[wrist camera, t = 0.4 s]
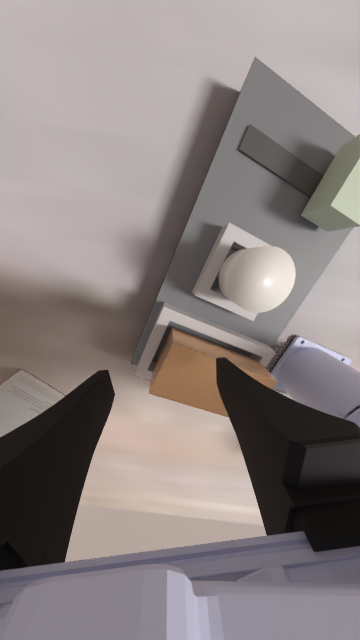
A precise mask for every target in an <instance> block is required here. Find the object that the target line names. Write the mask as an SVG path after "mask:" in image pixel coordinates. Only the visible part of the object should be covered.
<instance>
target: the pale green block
mask: <svg viewBox="0 0 360 640" xmlns="http://www.w3.org/2000/svg"><path fill="white" fill-rule="evenodd" d="M301 216H303V217H304V218H306V219H307V220H309V221H311V222H312V223H314V224H315V225H317V226H319V227H320V228H322V229H323V230H325V231H327V232H329V231H334V230H340V229H346V228H352V227H357V226H360V135H358V136H357V137H355V138H354V139H352V140H351V141H349V142H348V143H346V144H344V145H343V146H341V147H340V149H339V150H338V152H337V154H336V156H335V157H334V159H333V161H332V162H331V164H330V166H329V168H328V169H327V171H326V173H325V175H324V176H323V178H322V180H321V181H320V183H319V185H318V187H317V188H316V190H315V192H314V193H313V195H312V197H311V199H310V200H309V202H308V204H307V205H306V207H305V209H304V211H303V212H302V214H301Z"/></svg>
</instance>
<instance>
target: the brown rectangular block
mask: <svg viewBox="0 0 360 640" xmlns="http://www.w3.org/2000/svg"><path fill="white" fill-rule="evenodd" d="M221 357H226V358H227V359H228V360H229V361H231V362H232V363H233V364H234V365H236V366H237V367H238V368H240V369H241V370H242V371H244V372H245V373H246V374H248V375H249V376H251V377H252V378H254V379H255V380H257V381H258V382H260V383H262V384H263V385H265V386H267V387H268V388H270V389H272V388H273V387H274V385H275V384H276V383H277V380H276V379H275V378H274V377H273V376H272V375H271V373H270V372H269V371H268V370H267V369H266V368H265V367H264V366H263V365H262V363H261V362H260V361H258V360H255V359H252V358H250V357H247V356H245V355H242V354H239V353H237V352H234V351H232V350H229V349H227V348H224V347H221V346H219V345H216V344H214V343H211V342H208V341H206V340H203V339H201V338H198V337H196V336H193V335H190V334H188V333H185V332H183V331H180V330H177V329H175V328H172V329H171V331H170V333H169V336H168V338H167V340H166V342H165V344H164V346H163V349H162V351H161V353H160V355H159V357H158V360H157V362H156V364H155V366H154V368H153V370H152V376H151V383H150V390H149V394H152V395H155V396H159V397H162V398H166V399H169V400H172V401H176V402H179V403H182V404H186V405H189V406H192V407H196V408H199V409H203V410H206V411H209V412H213V413H216V414H219V415H223V416H226V417H229V416H228V414H227V411H226V409H225V407H224V404H223V402H222V399H221V397H220V394H219V390H218V387H217V383H216V358H221Z"/></svg>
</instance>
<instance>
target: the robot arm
mask: <svg viewBox="0 0 360 640" xmlns="http://www.w3.org/2000/svg"><path fill="white" fill-rule="evenodd" d="M301 341H302V342H301ZM350 363H351V359H349V358H347V357H345V356H343V355H341V354H338V353H336V352H334V351H332V350H329V349H327V348H325V347H323V346H320V345H318V344H316V343H314V342H311V341H309V340H307V339H305V338H302V337H300V336H297V337H295V338H294V340H293V341H292V343H291V344H290V345H289V347H288V348H287V350H286V351H285V353H284V354H283V355H282V357H281V358H280V360H279V361H278V362H277V364H276V365H275V367H274V368H273V369H272V371H271V372H270V373H271V375H272V376H273V377H274V378H275V379H276V380H277V383H276V384H275V385H274V387H273V388H274V389H277V390H280V391H283V392H286V393H288V394H289V395H290V396H291V398H292V399H293V400H292V399H290V398H288V397H286V396H284V395H282V394H280V393H278V392H276V391H274V390H272V389H270V388H268V387H267V386H265V385H263V384H262V383H260V382H258V381H257V380H255V379H254V378H252V377H251V376H249V375H248V374H246V373H245V372H244V371H242V370H241V369H240V368H238V367H237V366H236V365H234V364H233V363H232V362H231V361H229V360H228V359H227V358H226V357H221V358H216V383H217V387H218V390H219V394H220V397H221V399H222V402H223V404H224V407H225V409H226V411H227V414H228V416H229V418H230V421H231V423H232V425H233V428H234V430H235V433H236V435H237V438H238V441H239V444H240V447H241V450H242V453H243V456H244V459H245V463H246V466H247V469H248V472H249V475H250V479H251V482H252V486H253V489H254V492H255V496H256V499H257V502H258V506H259V509H260V513H261V516H262V520H263V524H264V527H265V530H266V534H267V536H262V537H254V538H247V539H239V540H231V541H223V542H216V543H208V544H201V545H194V546H186V547H178V548H170V549H162V550H155V551H148V552H140V553H132V554H124V555H117V556H110V557H102V558H94V559H87V560H79V561H71V562H65V558H66V554H67V549H68V545H69V540H70V536H71V532H72V528H73V524H74V520H75V516H76V512H77V508H78V505H79V501H80V497H81V493H82V490H83V486H84V483H85V479H86V476H87V472H88V469H89V466H90V463H91V459H92V456H93V453H94V451H95V448H96V445H97V443H98V440H99V438H100V435H101V433H102V431H103V428H104V426H105V423H106V421H107V418H108V416H109V413H110V411H111V407H112V404H113V400H114V396H115V393H114V390H113V386H112V382H111V379H110V375H109V371H108V370H101V371H98V372H96V373H95V374H93V375H92V376H91V377H90V378H88V379H87V380H86V381H84V382H83V383H82V384H81V385H79V386H78V387H77V388H76V389H74V390H73V391H72V392H70V393H69V394H68V395H66V396H65V397H64V398H62V399H61V400H60V401H58V402H57V403H55V404H54V405H53V406H51V407H50V408H48V409H47V410H45V411H44V412H42V413H41V414H39V415H38V416H36V417H34V418H33V419H31V420H30V421H28V422H26V423H24V424H23V425H21V426H19V427H17V428H16V429H14V430H12V431H11V432H9V433H7V434H5V435H3V436H2V437H0V640H360V372H359V371H357V370H355V369H353V368H352V367H350V366H349V364H350Z"/></svg>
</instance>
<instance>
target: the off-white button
mask: <svg viewBox="0 0 360 640" xmlns="http://www.w3.org/2000/svg"><path fill="white" fill-rule="evenodd" d="M295 275H296V272H295V265H294V262H293V260H292V258H291V257H290V255H289V254H288V253H287V252H286V251H284V250H283V249H281V248H279V247H275V246H262V247H255V248H248V249H242V250H239V251H236V252H234V253H233V254H231V255H230V256H229V257H228V258H227V259H226V260H225V262H224V263H223V265H222V267H221V269H220V272H219V286H220V289H221V291H222V293H223V294H224V296H225V297H226V298H228V299H229V300H231V301H232V302H234V303H235V304H237V305H238V306H240V307H241V308H243V309H245V310H247V311H249V312H254V313H262V312H267V311H270V310H272V309H274V308H276V307H277V306H279V305H280V304H281V303H282V302H283V301H284V300H285V299H286V298H287V297H288V295H289V294H290V292H291V290H292V288H293V285H294V282H295Z"/></svg>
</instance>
